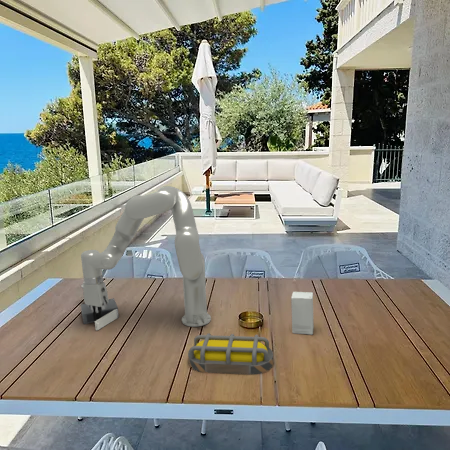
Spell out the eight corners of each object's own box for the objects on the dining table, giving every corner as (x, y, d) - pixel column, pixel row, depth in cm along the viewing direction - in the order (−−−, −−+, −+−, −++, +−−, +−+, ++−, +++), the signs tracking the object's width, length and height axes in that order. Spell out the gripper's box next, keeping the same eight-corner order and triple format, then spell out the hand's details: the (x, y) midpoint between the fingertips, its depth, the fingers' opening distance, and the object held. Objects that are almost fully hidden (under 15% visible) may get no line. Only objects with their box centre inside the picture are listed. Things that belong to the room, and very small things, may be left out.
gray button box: (118, 317, 179) (117, 306, 178) (83, 324, 173) (82, 313, 172) (114, 305, 192) (113, 295, 191) (81, 312, 186) (80, 302, 185)
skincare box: (313, 327, 162) (314, 292, 159) (312, 335, 156) (313, 298, 152) (293, 326, 164) (292, 290, 161) (291, 333, 158) (291, 297, 155)
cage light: (272, 354, 130) (182, 351, 134) (272, 376, 131) (184, 372, 136) (273, 332, 144) (192, 330, 148) (273, 352, 146) (193, 349, 150)
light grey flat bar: (120, 317, 178) (119, 309, 177) (98, 330, 166) (97, 322, 166) (116, 316, 179) (116, 308, 178) (95, 330, 167) (94, 321, 166)
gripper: (113, 278, 167) (117, 319, 171) (86, 274, 174) (91, 313, 178) (100, 285, 160) (105, 326, 164) (73, 280, 167) (78, 320, 171)
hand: (97, 319), depth 171 cm, fingers closed
